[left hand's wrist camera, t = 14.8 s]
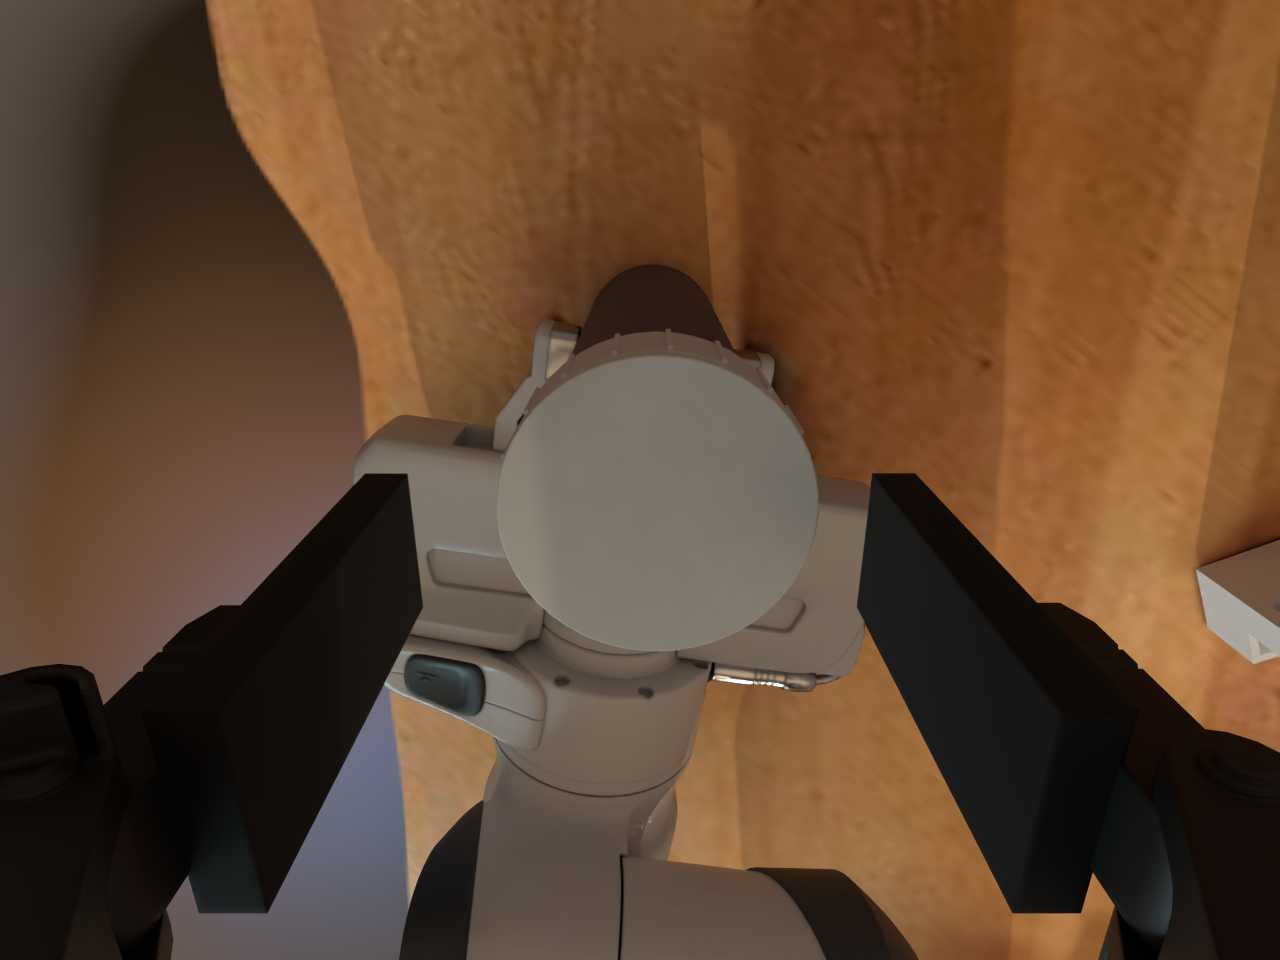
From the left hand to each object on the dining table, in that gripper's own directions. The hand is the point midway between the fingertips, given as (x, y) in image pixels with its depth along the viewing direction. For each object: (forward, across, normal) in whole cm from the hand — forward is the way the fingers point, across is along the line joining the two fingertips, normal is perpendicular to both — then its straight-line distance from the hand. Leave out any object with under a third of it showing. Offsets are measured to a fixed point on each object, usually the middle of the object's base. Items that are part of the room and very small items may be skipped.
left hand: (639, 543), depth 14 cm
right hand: (+15, -1, -1) cm, 15 cm away
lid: (+2, 0, 0) cm, 2 cm away
